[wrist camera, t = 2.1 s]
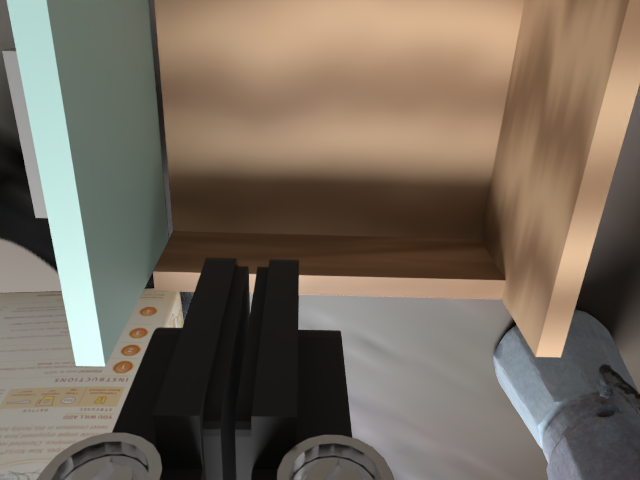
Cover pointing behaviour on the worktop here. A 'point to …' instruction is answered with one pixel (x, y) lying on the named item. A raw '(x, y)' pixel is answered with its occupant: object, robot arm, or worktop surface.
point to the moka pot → (576, 402)
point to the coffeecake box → (64, 376)
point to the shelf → (398, 144)
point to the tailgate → (91, 154)
